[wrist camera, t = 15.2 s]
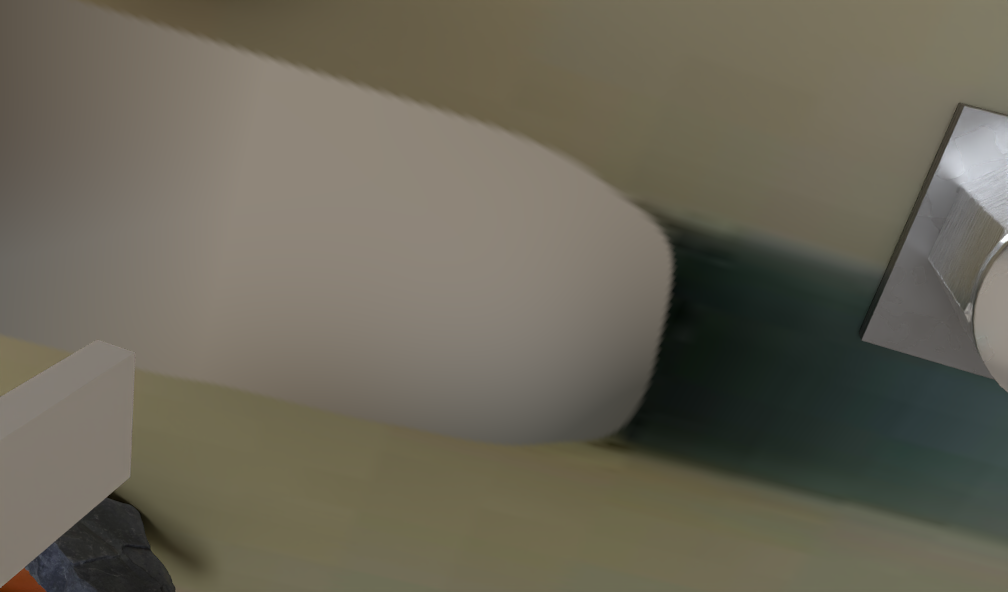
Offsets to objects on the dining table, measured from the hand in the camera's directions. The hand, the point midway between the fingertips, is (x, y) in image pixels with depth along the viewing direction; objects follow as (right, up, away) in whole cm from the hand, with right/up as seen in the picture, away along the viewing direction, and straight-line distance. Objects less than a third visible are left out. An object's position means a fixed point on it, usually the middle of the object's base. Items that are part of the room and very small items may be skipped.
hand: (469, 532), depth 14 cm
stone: (-26, -11, +47) cm, 54 cm away
